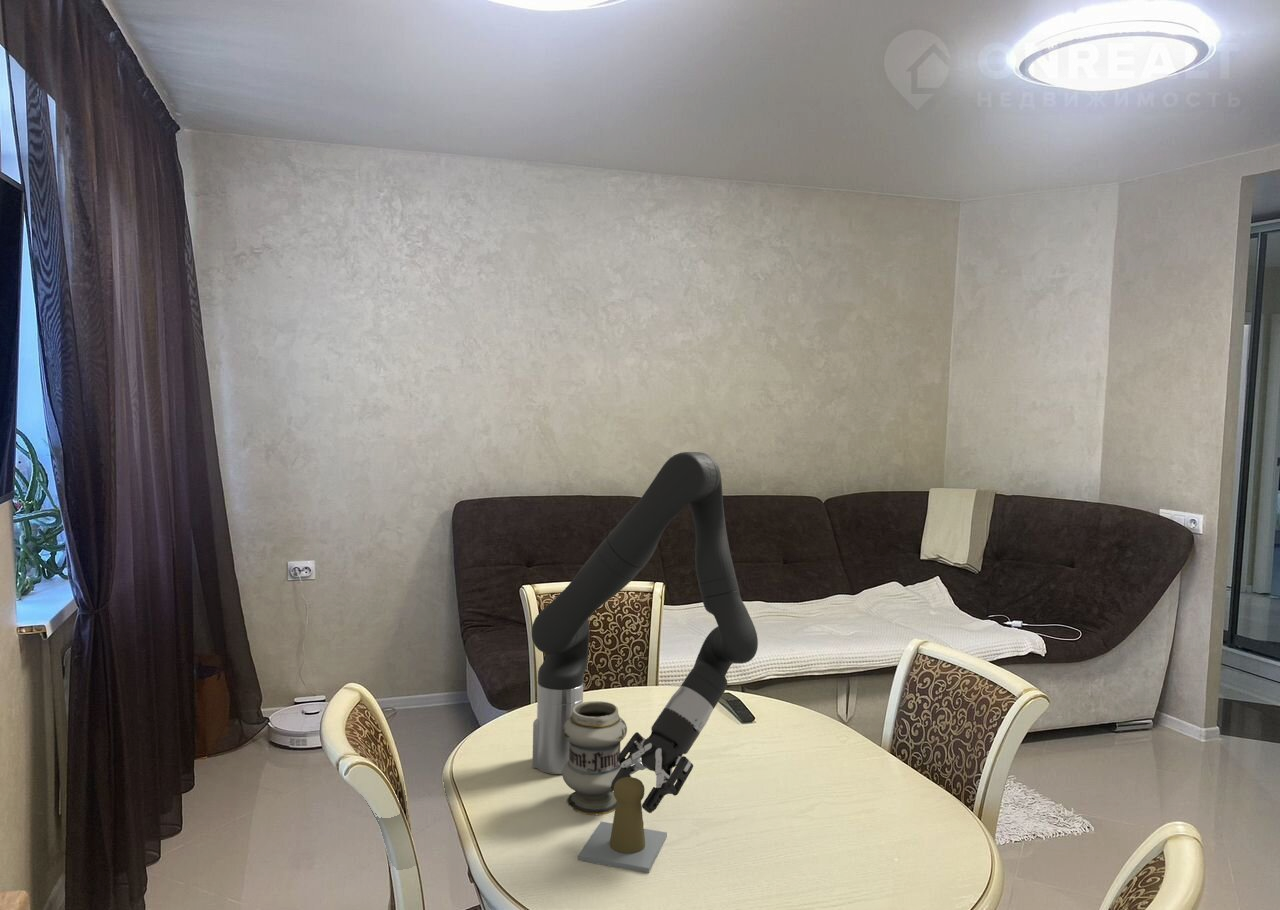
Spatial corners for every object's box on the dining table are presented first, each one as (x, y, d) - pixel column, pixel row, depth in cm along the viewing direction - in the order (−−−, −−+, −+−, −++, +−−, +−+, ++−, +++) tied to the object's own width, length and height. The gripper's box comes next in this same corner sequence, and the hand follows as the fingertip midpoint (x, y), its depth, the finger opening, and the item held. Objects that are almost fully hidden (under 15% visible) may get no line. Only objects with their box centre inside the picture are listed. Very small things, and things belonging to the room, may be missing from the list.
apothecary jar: (549, 798, 164) (551, 704, 163) (601, 782, 171) (604, 692, 170) (585, 824, 154) (587, 725, 153) (639, 806, 162) (642, 711, 160)
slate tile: (577, 860, 142) (577, 855, 142) (600, 825, 154) (601, 821, 154) (648, 873, 139) (649, 868, 139) (667, 836, 151) (667, 832, 151)
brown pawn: (641, 855, 143) (643, 790, 142) (605, 850, 144) (607, 786, 143) (648, 837, 149) (650, 774, 148) (614, 833, 150) (615, 770, 149)
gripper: (645, 695, 157) (592, 774, 150) (699, 720, 146) (644, 805, 139) (667, 718, 160) (616, 795, 154) (721, 743, 149) (669, 828, 143)
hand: (629, 800), depth 147 cm, fingers open, 8 cm apart
